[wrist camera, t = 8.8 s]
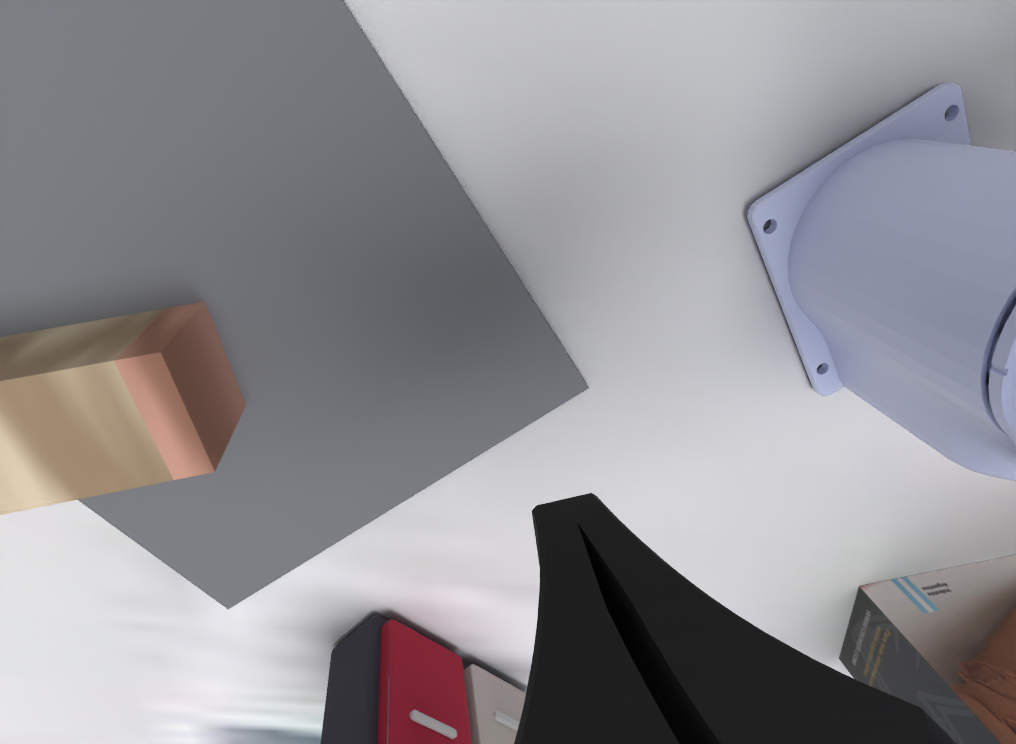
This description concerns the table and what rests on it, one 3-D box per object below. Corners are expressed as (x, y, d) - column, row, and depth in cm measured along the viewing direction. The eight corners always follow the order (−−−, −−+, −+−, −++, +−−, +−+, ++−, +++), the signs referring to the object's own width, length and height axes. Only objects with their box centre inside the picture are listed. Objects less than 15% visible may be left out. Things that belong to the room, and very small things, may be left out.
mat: (586, 384, 23) (588, 387, 23) (229, 603, 25) (228, 609, 25) (209, -211, 14) (205, -217, 14) (-306, 209, 16) (-318, 211, 16)
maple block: (160, 352, 16) (-164, 410, 15) (214, 471, 17) (-71, 528, 17) (204, 301, 19) (-56, 346, 18) (246, 405, 21) (11, 450, 20)
